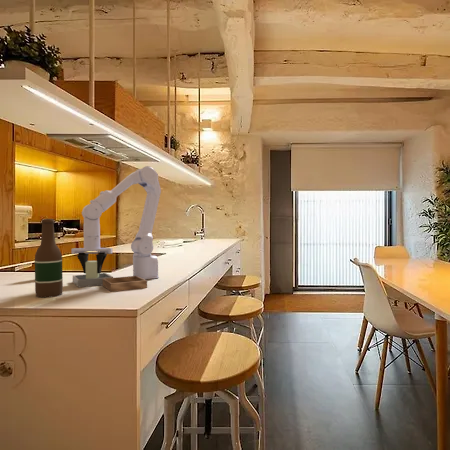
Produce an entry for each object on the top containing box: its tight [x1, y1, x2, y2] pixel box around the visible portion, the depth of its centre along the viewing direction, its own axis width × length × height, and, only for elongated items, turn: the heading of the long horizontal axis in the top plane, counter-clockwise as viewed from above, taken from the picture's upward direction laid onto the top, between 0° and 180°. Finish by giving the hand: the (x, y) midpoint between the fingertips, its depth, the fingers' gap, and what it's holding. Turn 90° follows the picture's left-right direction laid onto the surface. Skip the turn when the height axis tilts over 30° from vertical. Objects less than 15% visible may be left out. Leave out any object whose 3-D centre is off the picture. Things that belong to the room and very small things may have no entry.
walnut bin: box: [102, 275, 148, 292], centre depth 129 cm, size 12×12×2 cm
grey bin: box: [72, 272, 114, 288], centre depth 137 cm, size 12×12×2 cm
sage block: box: [85, 260, 99, 279], centre depth 137 cm, size 4×4×6 cm
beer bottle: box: [34, 218, 64, 299], centre depth 116 cm, size 8×8×24 cm
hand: (92, 273), depth 137 cm, fingers closed on sage block, 4 cm apart
